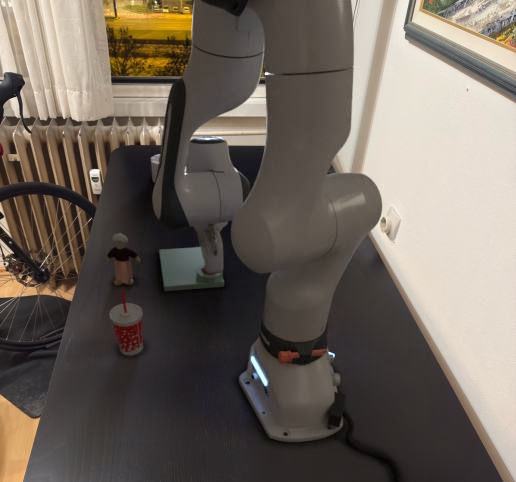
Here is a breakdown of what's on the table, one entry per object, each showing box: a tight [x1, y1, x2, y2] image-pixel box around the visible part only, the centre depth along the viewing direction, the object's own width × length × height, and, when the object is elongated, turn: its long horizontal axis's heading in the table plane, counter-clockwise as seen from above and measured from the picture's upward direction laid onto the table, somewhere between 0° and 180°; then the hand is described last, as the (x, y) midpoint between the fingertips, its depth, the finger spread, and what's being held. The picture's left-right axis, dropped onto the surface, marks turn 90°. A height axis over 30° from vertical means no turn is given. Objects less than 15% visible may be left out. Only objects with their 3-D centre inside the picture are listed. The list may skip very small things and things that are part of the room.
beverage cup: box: [108, 290, 144, 356], centre depth 92 cm, size 6×6×14 cm
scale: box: [158, 246, 225, 292], centre depth 117 cm, size 16×14×3 cm
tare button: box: [203, 265, 215, 275], centre depth 113 cm, size 3×3×2 cm
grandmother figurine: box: [105, 232, 142, 286], centre depth 108 cm, size 8×4×13 cm, turn 105°
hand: (208, 267), depth 113 cm, fingers closed, pressing on tare button
